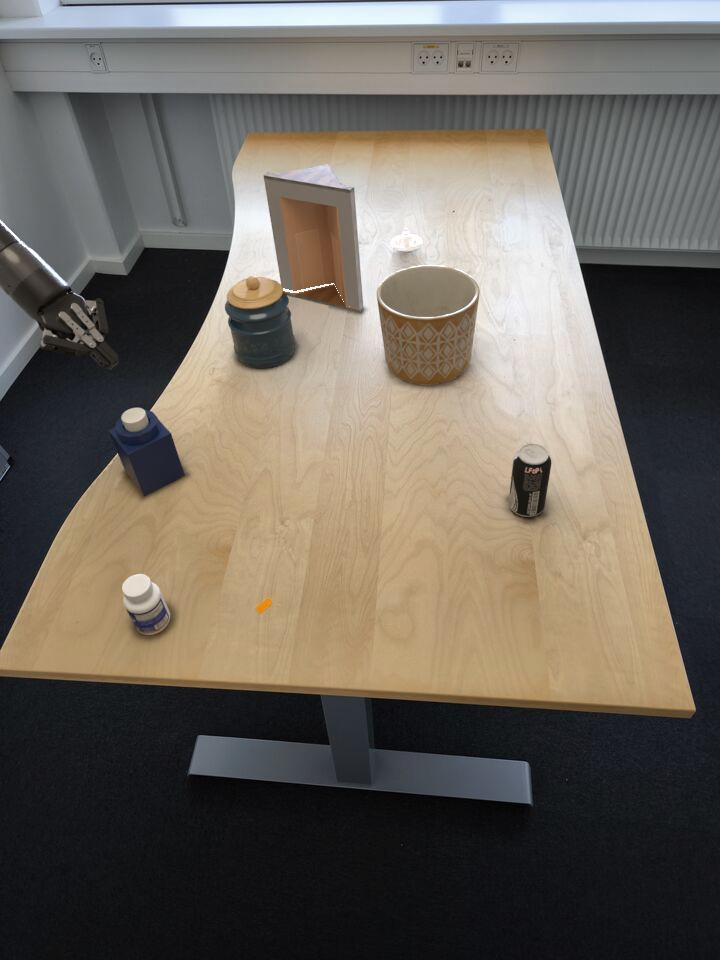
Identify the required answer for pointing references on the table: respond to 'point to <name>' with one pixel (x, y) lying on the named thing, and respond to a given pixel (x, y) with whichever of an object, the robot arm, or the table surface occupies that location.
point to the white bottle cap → (135, 419)
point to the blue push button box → (148, 454)
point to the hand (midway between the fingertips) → (114, 365)
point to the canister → (260, 322)
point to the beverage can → (529, 480)
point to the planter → (428, 322)
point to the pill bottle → (145, 604)
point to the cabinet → (316, 236)
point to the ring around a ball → (406, 242)
